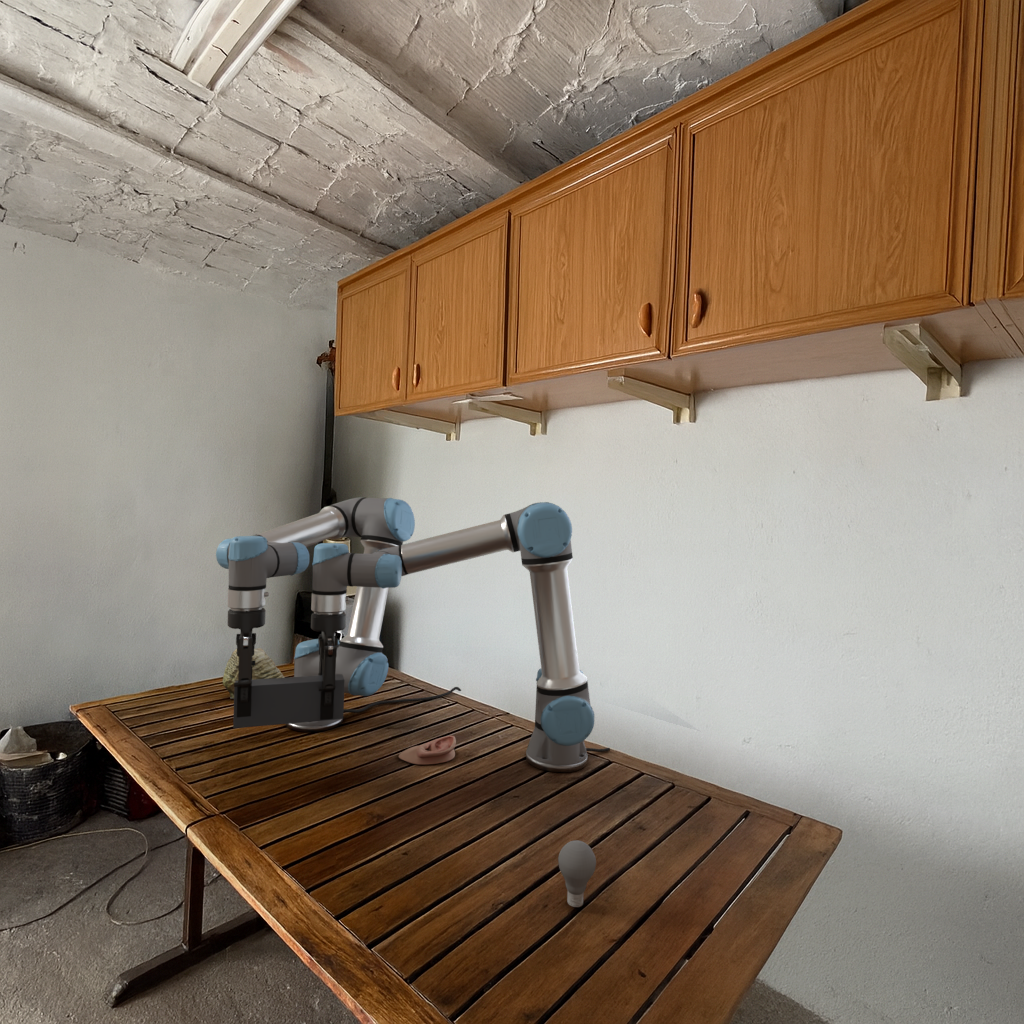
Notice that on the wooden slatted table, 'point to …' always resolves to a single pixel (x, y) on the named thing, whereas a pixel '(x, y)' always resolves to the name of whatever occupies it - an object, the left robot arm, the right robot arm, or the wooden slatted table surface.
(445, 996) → the wooden slatted table surface
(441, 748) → the anatomical model
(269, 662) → the fossil
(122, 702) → the wooden slatted table surface
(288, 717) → the bar
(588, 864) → the light bulb
